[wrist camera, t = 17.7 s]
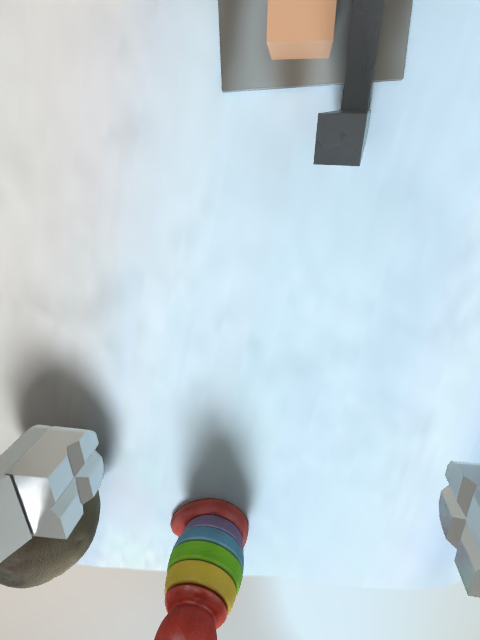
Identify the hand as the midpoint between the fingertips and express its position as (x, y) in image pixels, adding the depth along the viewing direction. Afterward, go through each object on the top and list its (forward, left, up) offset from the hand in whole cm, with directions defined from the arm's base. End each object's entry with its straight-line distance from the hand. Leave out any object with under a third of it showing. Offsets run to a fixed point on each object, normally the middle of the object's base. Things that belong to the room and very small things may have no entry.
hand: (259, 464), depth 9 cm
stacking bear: (-10, -40, -29) cm, 51 cm away
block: (0, +17, -28) cm, 33 cm away
